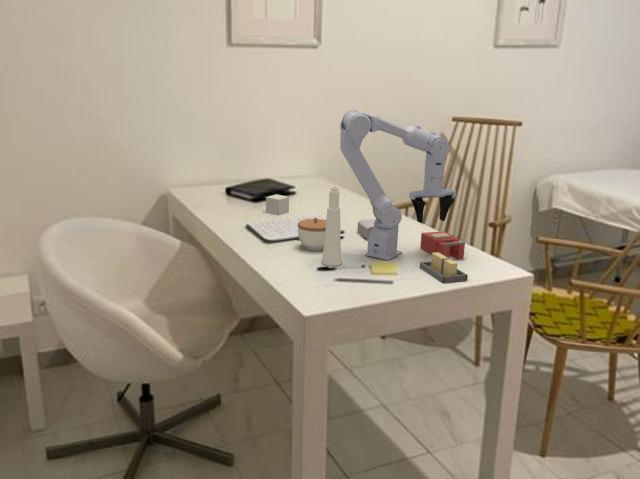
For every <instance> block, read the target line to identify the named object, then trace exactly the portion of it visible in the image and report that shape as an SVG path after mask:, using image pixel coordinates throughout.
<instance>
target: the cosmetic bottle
mask: <svg viewBox="0 0 640 479" xmlns="http://www.w3.org/2000/svg"><path fill="white" fill-rule="evenodd" d="M329 189H330V190H329V192H328V193H329V194H328V207H327V211H326V217H325V220H326V230H325V241H324V249H323V250H322V251H323V252H322V256H321V261H320V262H321V264H323V265H325V266H330V267H331V266H332V267H337V266H340V265H342V264H343V258H342V245H341V244H342V243H341V208H340V191H339V187H337V186H331V187H329Z"/></svg>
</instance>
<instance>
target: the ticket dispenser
mask: <svg viewBox="0 0 640 479" xmlns="http://www.w3.org/2000/svg"><path fill="white" fill-rule="evenodd" d="M420 234H421V236H420V249H421V250H423V251H424V252H426V253H428V254H429V255H431V256H432V253H436V252H439V253H440V254H442V255H444V256H446V257H447V258H449V259H450V257H453V258H454V259H457V260H464V257H465V256H464V255H465V246H466V242H465V241H460V238H459V237H456V236H454V235H453V234H450V233H448V232H447V231H444V230H442V231H428V232H421V233H420Z"/></svg>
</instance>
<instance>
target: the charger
mask: <svg viewBox="0 0 640 479" xmlns="http://www.w3.org/2000/svg"><path fill="white" fill-rule="evenodd" d="M375 220H376V218H375V219H361V220H360V219H359V221H357V231H356V232H357V233H358V234H359V235H360V236H362V237H363V238H364V239H365V240H367V241H368V235H369V233H370V232H371V231H372V230H373V228H374V222H375Z"/></svg>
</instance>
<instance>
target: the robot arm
mask: <svg viewBox="0 0 640 479" xmlns="http://www.w3.org/2000/svg"><path fill="white" fill-rule="evenodd" d="M339 129H340V130H339V131H340V139H339V140H340V143H339V144H340V145H339V146H340V148H339V149H340V151H341V153H342V155H343V157H344V158H345V160H346V161H347V164H348V165H349V167H350V169H351V170H352V172H353V174H354V175H355V178H356V179H357V180H358V183H360V186H361V187H362V189H363V191H364V193H365V194H366V196H367V197H368V199H369V202H370V205H371V207H372V214H373V216H374V217H375V219H376V220H375V222H374V228H373V230H372V231H371V232H370V233H369V235H368V240H367V251H366V252H365V253H364V256H366V257H371V258H376V259H380V260H384V261H390V260H391V259H393V258H394V257H397V256H398V255H401V254H403V251H402V250H398V237H399V226H400V223H401V221H402V217H403V216H402V212H401V210H400V209H399V208H398V207H396V206H395V205H394V204H393V203H392V201H391V200H390V198H389V197H388V195H387V194H386V193H385V191H384V189H383V188H382V186H381V184H380V182H379V180H378V179H377V177H376V176H375V174H374V172H373V170H372V168H371V167H370V165H369V163H368V161H367V160H366V158H365V157H364V155H363V153H362V151H361V146H362V143H363V140H365V138H366V137H367V135H368V134H369V132H370V133H375V132H378V131H381V132H383V133H386V134H390V135H391V136H392V135H393V136H394V137H397V138H400V139H401V140H402V142H403V145H406V146H407V147H408V146H409V147H410V148H413V149H415V150H418V151H421V152H424V153H425V164H424V178H423V179H424V180H423V189H420V190H415V191H409V196H408V197H409V199H410V201H411V204H412V206H413V209H414V212H415V215H416V222H418V223H421V224H422V223H423V220H424V210H425V205H426V201H425V200H424V199H433V198H434V199H436V198H439V216H438V218H439V220H440V221H442V222H445V221H446V218H447V215H448V213H449V210H450V209H451V207H452V205H453V204H454V203H455V198H456V197H457V190H455V189H446V188H445V189H444V182H445V181H444V180H445V172H446V171H445V170H446V156H447V155H448V153H449V152H450V148H451V146H449V142H448V140H447V139H446V138H445V137H442V136H440V135H437V134H436V132H434V131H428V130H424V129H422V127H421V126H420V125H418V124H415V126H414V125H410V126H408V127H404V126H401V125H399V124H397V123H394V122H392V121H390V120H388V119H385V118H383V117H380V116H379V115H378V116H377V115H374V114H371V113H366V112H362V113H361V112H360V111H358V110H355V109H352V110H349V111H346V113H345V114H343V116H342V118H341V122H340V124H339Z"/></svg>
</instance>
